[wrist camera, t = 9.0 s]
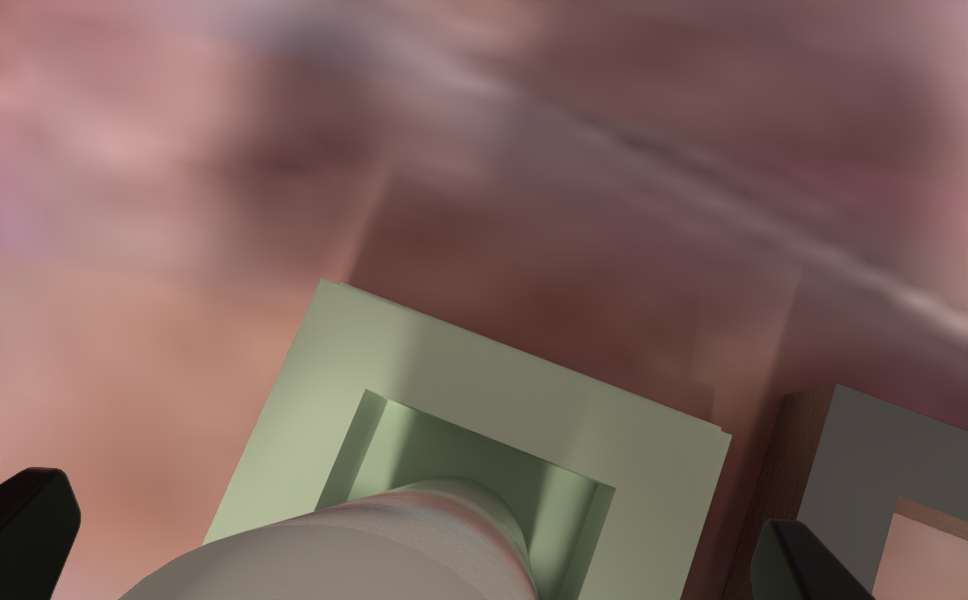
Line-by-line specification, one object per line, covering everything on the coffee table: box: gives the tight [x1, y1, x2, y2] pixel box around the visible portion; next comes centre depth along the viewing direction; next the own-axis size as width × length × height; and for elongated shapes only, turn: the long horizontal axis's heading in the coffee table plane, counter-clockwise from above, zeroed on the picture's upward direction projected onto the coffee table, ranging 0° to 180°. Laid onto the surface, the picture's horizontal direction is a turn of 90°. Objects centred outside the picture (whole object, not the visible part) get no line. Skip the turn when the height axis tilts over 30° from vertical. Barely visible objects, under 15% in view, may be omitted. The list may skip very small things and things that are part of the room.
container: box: [202, 278, 732, 600], centre depth 16 cm, size 10×10×4 cm
